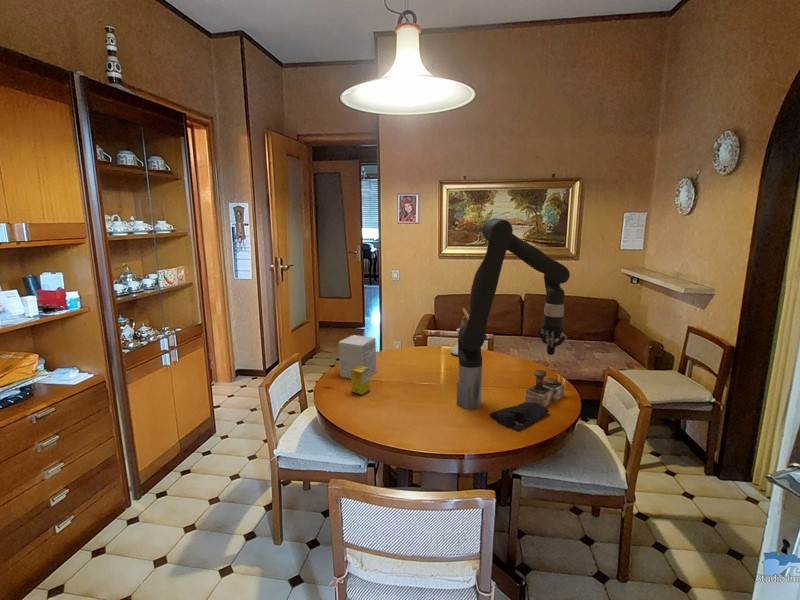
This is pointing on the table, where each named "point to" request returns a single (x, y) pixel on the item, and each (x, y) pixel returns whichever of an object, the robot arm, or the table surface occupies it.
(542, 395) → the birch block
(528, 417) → the black folded cloth
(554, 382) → the brown mushroom knob
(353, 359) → the supplement box
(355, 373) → the supplement box
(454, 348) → the flower in vase
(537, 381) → the brown rounded piece
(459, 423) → the table surface
